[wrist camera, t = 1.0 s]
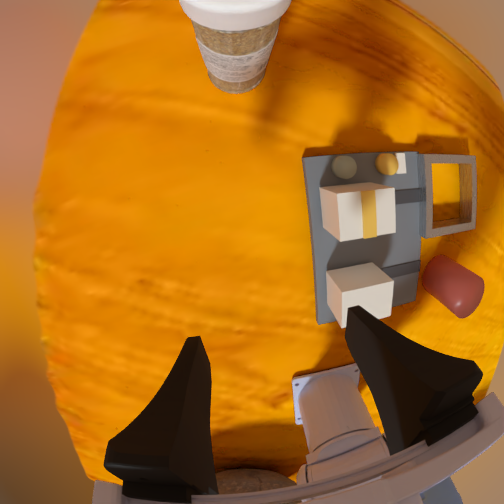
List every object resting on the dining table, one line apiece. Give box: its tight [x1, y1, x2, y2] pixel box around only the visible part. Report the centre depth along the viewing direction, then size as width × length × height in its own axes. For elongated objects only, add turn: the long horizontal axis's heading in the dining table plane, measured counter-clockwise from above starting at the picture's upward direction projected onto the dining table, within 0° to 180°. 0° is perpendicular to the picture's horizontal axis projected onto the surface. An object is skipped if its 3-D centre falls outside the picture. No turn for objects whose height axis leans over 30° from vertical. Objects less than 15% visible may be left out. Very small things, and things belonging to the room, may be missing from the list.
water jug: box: [420, 476, 463, 504], centre depth 29 cm, size 16×16×28 cm
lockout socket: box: [416, 154, 477, 238], centre depth 21 cm, size 8×8×2 cm
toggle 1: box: [319, 182, 396, 242], centre depth 19 cm, size 3×4×4 cm
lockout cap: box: [422, 255, 484, 318], centre depth 22 cm, size 4×4×6 cm
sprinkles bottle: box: [179, 0, 291, 94], centre depth 12 cm, size 5×5×14 cm
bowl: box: [215, 469, 302, 504], centre depth 32 cm, size 21×21×10 cm
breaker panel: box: [302, 152, 421, 325], centre depth 22 cm, size 15×11×2 cm
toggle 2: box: [326, 262, 394, 328], centre depth 21 cm, size 3×4×4 cm
